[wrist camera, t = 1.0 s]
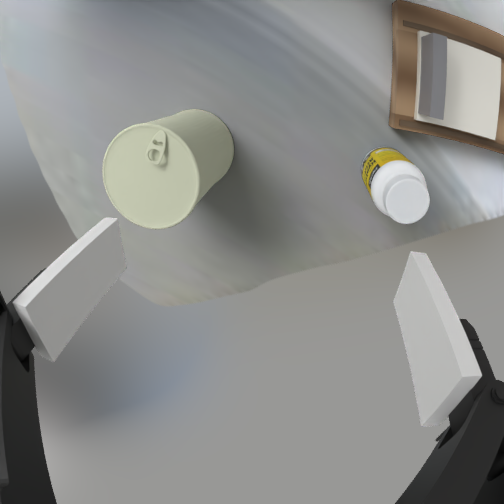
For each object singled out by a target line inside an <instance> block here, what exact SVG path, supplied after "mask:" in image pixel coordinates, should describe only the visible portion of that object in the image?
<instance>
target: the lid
mask: <svg viewBox="0 0 504 504" xmlns="http://www.w3.org/2000/svg"><path fill="white" fill-rule="evenodd" d="M417 34H418V53H417V84H416V100H415V112H414V119H415V120H419V121H423V122H428V123H433V124H437V125H441V126H446V127H450V128H454V129H458V130H461V131H465V132H469V133H472V134H476V135H479V136H483V137H486V138H489V139H493V140H495V138H496V131H497V123H498V113H499V102H500V86H501V58H498V57H496V56H494V55H491V54H489V53H487V52H484V51H482V50H479V49H476V48H474V47H471V46H468V45H466V44H463V43H460V42H457V41H454V40H451V39H448V38H447V37H446V36H443V35H439V34H436V33H428V32H424V31H418V32H417Z"/></svg>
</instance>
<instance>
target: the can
mask: <svg viewBox="0 0 504 504" xmlns="http://www.w3.org/2000/svg"><path fill="white" fill-rule="evenodd" d="M233 155H234V144H233V139H232V136H231V134H230V132H229V130H228V128H227V127H226V125H225V124H224V123H223V122H222V121H221V120H220V119H219V118H218V117H217V116H215V115H213V114H212V113H210V112H207V111H204V110H199V109H189V110H184V111H181V112H179V113H177V114H175V115H172V116H168V117H165V118H161V119H158V120H154V121H151V122H147V123H142V124H137V125H133V126H130V127H128V128H126V129H125V130H123V131H122V132H120V133H119V134H118V135H117V136H116V137H115V138H114V139H113V140H112V142H111V143H110V145H109V146H108V148H107V151H106V153H105V156H104V161H103V170H102V172H103V181H104V186H105V189H106V192H107V194H108V197H109V199H110V200H111V202H112V204H113V205H114V207H115V208H116V209H117V210H118V211H119V212H120V213H121V214H122V215H123V216H124V217H125V218H126V219H128V220H129V221H131V222H132V223H134V224H136V225H139V226H141V227H144V228H149V229H166V228H170V227H172V226H175V225H177V224H179V223H180V222H182V221H183V220H184V219H186V218H187V217H188V216H189V215H190V213H191V212H192V211H193V209H194V207H195V206H196V204H197V203H198V202H199V201H200V200H201V198H202V197H203V196H204V195H205V194H206V193H207V192H208V190H209V189H210V188H211V187H212V186H213V185H214V184H215V183H216V182H217V181H219V180H220V179H221V178H222V177H223V176H224V175H225V174H226V173H227V171H228V170H229V168H230V166H231V163H232V160H233Z"/></svg>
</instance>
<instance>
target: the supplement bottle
mask: <svg viewBox="0 0 504 504" xmlns="http://www.w3.org/2000/svg"><path fill="white" fill-rule="evenodd" d="M361 175H362V179H363V181H364V183H365V185H366V187H367V189H368V191H369V193H370V195H371V198H372V200H373V202H374V203H375V205H376V207H377V208H378V209H379V210H380V211H381V212H382V213H384V214H385V215H387V216H389V217H391V218H392V219H393V220H395V221H396V222H398V223H402V224H411V223H414V222H417V221H418V220H420V219H421V218H422V217H423V216H424V215H425V214H426V212H427V210H428V208H429V204H430V196H429V192H428V190H427V185H426V180H425V178H424V176H423V174H422V172H421V171H420V170H419V169H418V168H417V167H416V166H415V165H414V164H413V163H412V162H410V161H409V160H408V159H407V158H406V157H405V156H403V155H402V154H401V153H400V152H399V151H397V150H395V149H393V148H390V147H378V148H375V149H373V150H371V151H370V152H369V153H368V154H367V155H366V156H365V158H364V160H363V162H362V166H361Z"/></svg>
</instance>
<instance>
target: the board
mask: <svg viewBox="0 0 504 504" xmlns="http://www.w3.org/2000/svg"><path fill="white" fill-rule="evenodd" d="M392 21H393V59H392V86H391V102H390V116H389V126H391V127H393V128H396V129H402V130H408V131H413V132H418V133H423V134H428V135H433V136H437V137H442V138H446V139H450V140H455V141H459V142H463V143H467V144H470V145H474V146H478V147H481V148H485V149H488V150H492V151H495V152H498V153H502V154H504V36H503V35H501V34H499V33H497V32H494V31H492V30H490V29H488V28H485V27H483V26H481V25H478V24H476V23H473V22H471V21H468V20H465V19H463V18H460V17H457V16H454V15H451V14H449V13H446V12H442V11H439V10H436V9H433V8H429V7H426V6H422V5H419V4H415V3H411V2H407V1H403V0H396V1H395V2H394V3H393V4H392ZM418 31H424V32H428V33H436V34H439V35H443V36H446V37H447V38H448V39H451V40H454V41H457V42H460V43H463V44H466V45H468V46H471V47H474V48H476V49H479V50H482V51H484V52H487V53H489V54H491V55H494V56H496V57H498V58H501V86H500V102H499V113H498V123H497V131H496V138H495V140H493V139H489V138H486V137H483V136H479V135H476V134H472V133H469V132H465V131H461V130H458V129H454V128H450V127H446V126H441V125H437V124H433V123H428V122H423V121H419V120H415V119H414V112H415V100H416V84H417V53H418V34H417V32H418Z"/></svg>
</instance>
